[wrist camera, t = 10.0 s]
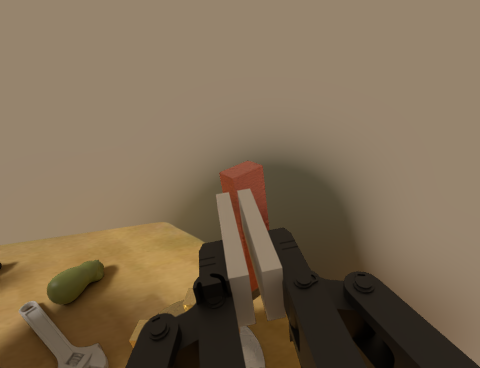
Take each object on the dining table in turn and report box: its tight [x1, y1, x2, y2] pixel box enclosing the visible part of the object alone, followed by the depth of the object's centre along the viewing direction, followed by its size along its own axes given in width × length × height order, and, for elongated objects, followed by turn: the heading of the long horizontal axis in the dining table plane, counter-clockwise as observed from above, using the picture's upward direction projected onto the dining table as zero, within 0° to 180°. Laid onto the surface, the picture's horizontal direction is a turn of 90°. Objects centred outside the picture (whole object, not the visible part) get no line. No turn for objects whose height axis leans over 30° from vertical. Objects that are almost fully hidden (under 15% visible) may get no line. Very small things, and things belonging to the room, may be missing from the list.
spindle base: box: [176, 314, 266, 368], centre depth 32 cm, size 17×17×10 cm
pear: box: [47, 260, 104, 304], centre depth 50 cm, size 6×5×10 cm
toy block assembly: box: [129, 161, 269, 348], centre depth 30 cm, size 19×12×24 cm, turn 128°
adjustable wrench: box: [19, 301, 109, 368], centre depth 42 cm, size 25×6×2 cm, turn 50°
